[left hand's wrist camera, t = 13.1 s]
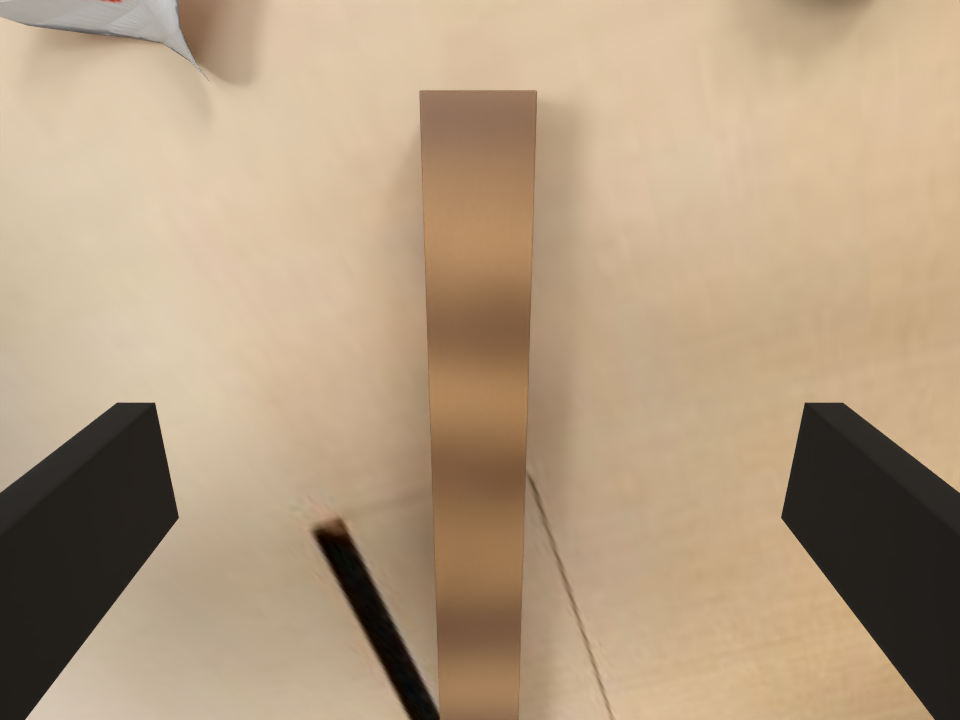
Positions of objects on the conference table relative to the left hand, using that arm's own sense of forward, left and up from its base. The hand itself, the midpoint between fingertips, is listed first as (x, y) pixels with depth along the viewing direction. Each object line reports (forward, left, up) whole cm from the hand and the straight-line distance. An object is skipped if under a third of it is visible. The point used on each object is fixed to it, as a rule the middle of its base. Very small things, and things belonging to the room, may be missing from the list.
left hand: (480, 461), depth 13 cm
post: (+6, -20, -25) cm, 33 cm away
